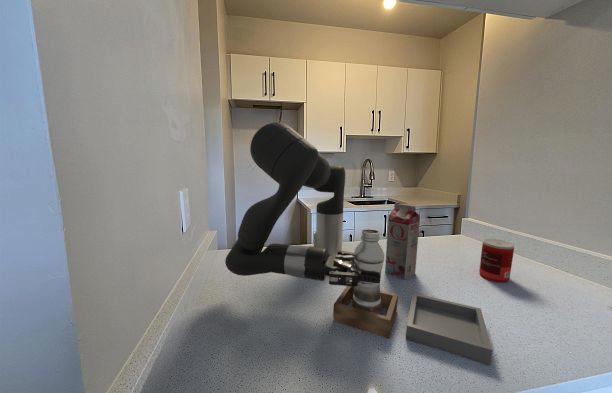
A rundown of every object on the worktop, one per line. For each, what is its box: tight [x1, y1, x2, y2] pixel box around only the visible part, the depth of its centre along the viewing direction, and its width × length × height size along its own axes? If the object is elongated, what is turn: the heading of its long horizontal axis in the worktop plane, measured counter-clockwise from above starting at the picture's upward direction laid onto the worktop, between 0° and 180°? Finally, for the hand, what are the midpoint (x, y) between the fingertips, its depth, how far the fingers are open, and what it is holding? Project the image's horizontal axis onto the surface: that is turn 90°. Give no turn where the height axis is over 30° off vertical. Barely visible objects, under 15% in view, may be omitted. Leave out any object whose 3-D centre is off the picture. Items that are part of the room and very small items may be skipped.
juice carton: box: [384, 202, 421, 281], centre depth 79 cm, size 7×7×22 cm
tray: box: [405, 292, 493, 366], centre depth 54 cm, size 14×14×3 cm
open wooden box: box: [332, 286, 399, 340], centre depth 59 cm, size 12×11×4 cm
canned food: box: [479, 238, 515, 283], centre depth 78 cm, size 8×8×11 cm
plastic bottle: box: [351, 228, 385, 315], centre depth 57 cm, size 6×7×20 cm
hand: (379, 271), depth 57 cm, fingers closed on plastic bottle, 6 cm apart
